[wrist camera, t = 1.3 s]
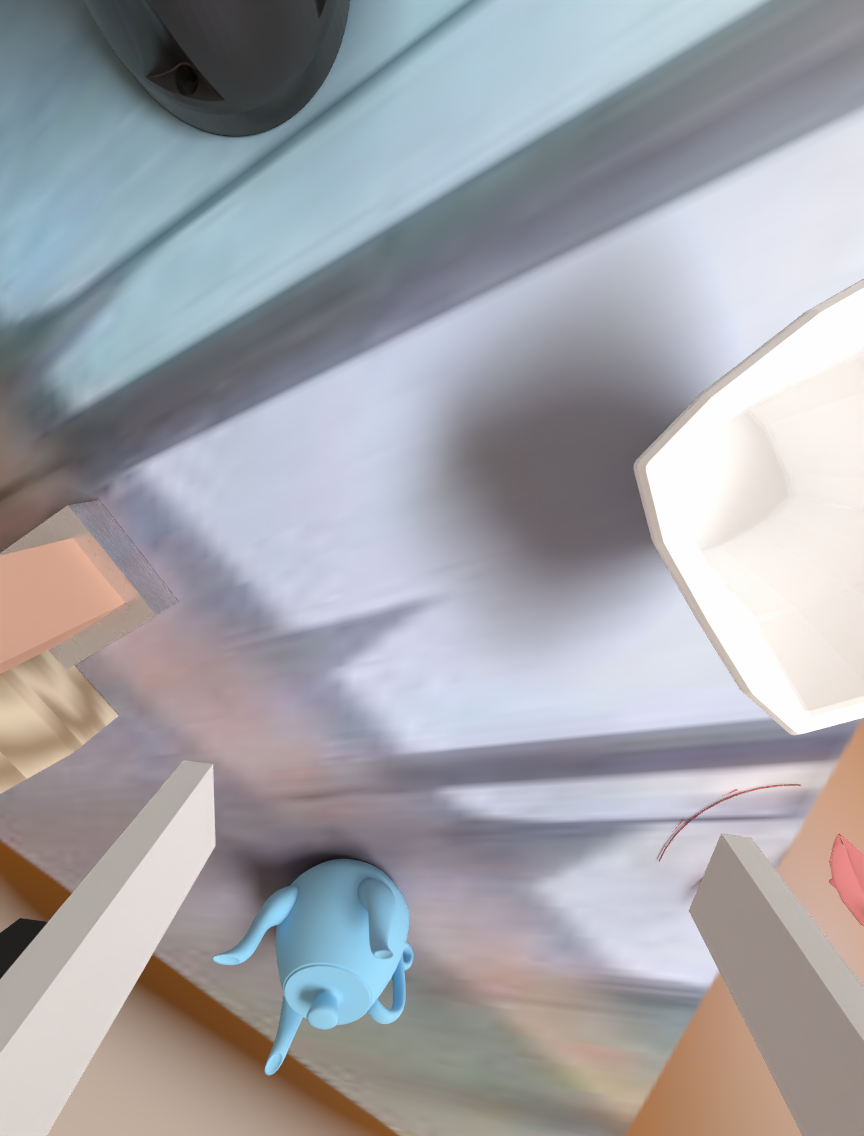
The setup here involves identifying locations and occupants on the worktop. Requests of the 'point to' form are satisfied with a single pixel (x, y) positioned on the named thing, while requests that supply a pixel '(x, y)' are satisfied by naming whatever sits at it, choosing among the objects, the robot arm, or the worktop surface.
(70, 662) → the frame
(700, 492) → the bowl
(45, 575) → the stud block
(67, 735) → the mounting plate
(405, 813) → the worktop surface
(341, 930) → the teapot
